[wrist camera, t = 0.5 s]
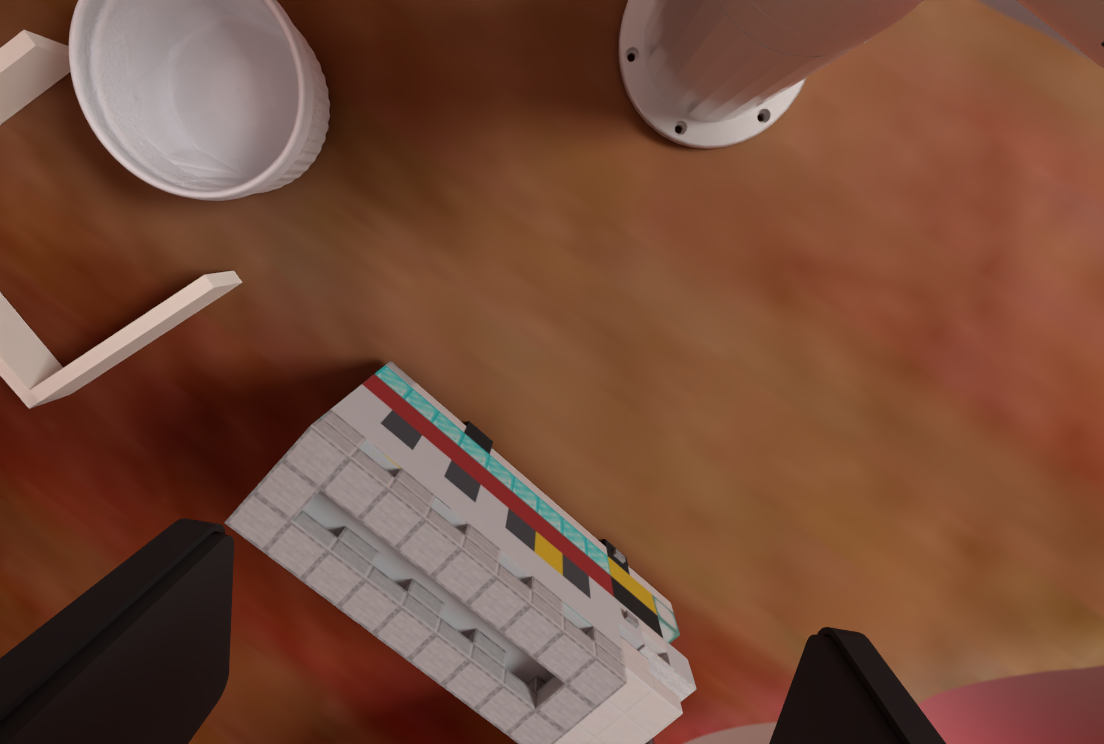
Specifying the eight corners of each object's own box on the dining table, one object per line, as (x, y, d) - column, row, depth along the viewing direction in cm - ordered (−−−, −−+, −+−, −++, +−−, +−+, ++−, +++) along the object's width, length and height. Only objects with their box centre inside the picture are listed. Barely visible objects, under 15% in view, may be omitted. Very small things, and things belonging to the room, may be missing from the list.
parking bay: (72, 47, 37) (23, 29, 33) (242, 282, 41) (213, 287, 37) (-107, 184, 39) (-169, 180, 36) (70, 394, 43) (29, 408, 40)
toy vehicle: (605, 650, 49) (626, 830, 34) (332, 426, 44) (220, 526, 29) (672, 592, 47) (724, 755, 33) (397, 354, 42) (314, 420, 28)
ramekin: (383, 74, 37) (345, 40, 31) (294, 242, 40) (241, 244, 33) (203, -52, 35) (120, -117, 29) (123, 133, 38) (31, 112, 32)
